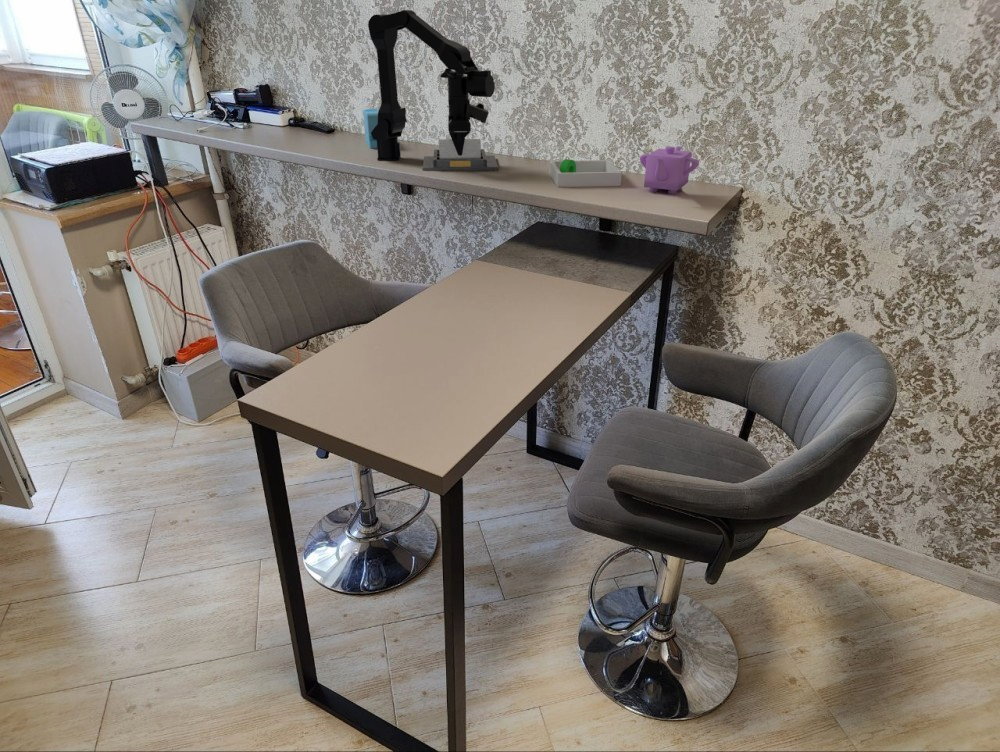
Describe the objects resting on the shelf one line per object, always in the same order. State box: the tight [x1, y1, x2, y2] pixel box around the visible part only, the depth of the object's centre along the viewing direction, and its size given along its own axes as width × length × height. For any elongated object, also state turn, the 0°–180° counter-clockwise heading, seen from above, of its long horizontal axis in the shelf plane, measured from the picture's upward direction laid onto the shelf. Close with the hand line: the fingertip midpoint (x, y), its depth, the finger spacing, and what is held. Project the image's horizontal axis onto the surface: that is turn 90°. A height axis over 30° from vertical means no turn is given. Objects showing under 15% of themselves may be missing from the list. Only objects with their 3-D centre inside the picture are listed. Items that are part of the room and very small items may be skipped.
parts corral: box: [548, 159, 623, 188], centre depth 190 cm, size 17×17×4 cm
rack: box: [421, 148, 499, 172], centre depth 208 cm, size 22×18×3 cm
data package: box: [362, 108, 379, 150], centre depth 230 cm, size 12×4×12 cm, turn 17°
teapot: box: [639, 145, 700, 195], centre depth 177 cm, size 15×13×11 cm
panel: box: [438, 138, 482, 160], centre depth 202 cm, size 12×3×7 cm, turn 94°
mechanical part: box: [560, 158, 576, 173], centre depth 187 cm, size 12×6×8 cm, turn 145°
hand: (459, 152), depth 202 cm, fingers open, 9 cm apart
